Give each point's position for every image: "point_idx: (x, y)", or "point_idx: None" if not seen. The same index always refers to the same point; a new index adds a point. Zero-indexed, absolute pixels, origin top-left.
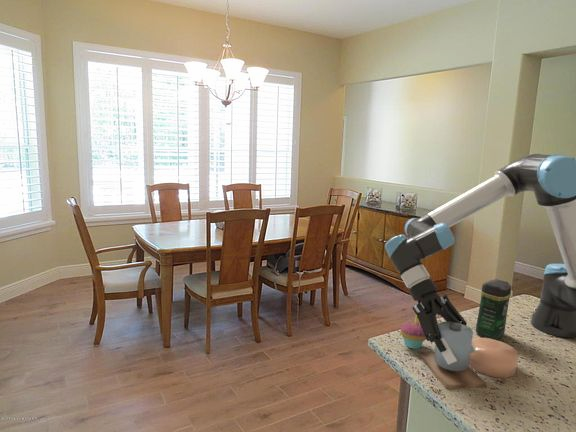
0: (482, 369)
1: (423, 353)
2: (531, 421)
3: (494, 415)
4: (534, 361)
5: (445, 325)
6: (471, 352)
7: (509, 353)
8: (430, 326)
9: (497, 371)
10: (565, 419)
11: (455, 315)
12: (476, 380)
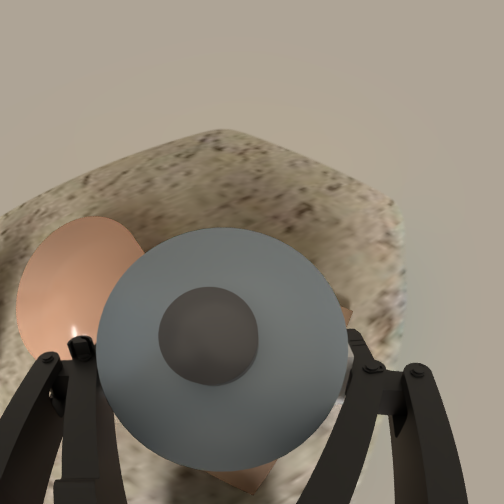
0: None
1: (242, 482)
2: (272, 155)
3: (327, 194)
4: (27, 249)
5: (226, 419)
6: None
7: (69, 241)
8: (426, 419)
9: None
10: (208, 136)
11: (40, 418)
12: None
